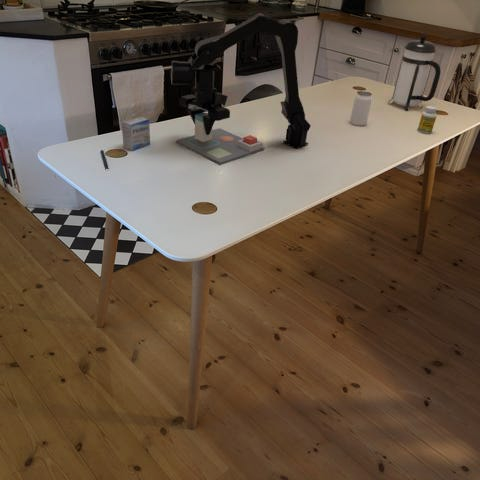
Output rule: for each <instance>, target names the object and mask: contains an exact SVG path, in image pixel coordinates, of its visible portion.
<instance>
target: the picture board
mask: <svg viewBox="0 0 480 480" xmlns="http://www.w3.org/2000/svg"><path fill="white" fill-rule="evenodd" d="M175 143H176V144H178V145H180V146H181V147H184V148H185V149H188V150H190V151H191V152H194V153H196V154H198V155H200V156H202V157H203V158H205V159H208V160H210V161H211V162H214V163H216V164H218V165H220V166H221V165H224V164H227V163H230V162H233V161H236V160H239V159H242V158H245V157H247V156H248V157H249V156H251V155H253V154H257V153H259V152H262V151H264V150H265V147H264V146H263V144H264V142H262V141H260V140H258V139H257V143H254V144H251V145H249V144H247V143H245V142H243V138H242V137H240V136H238V135H237V134H234V133H231V132H230V131H227V130H225V129H223V128H221V127H219V128H215V129H212V139H211V140H208V141H204V142H202V141H200V140H198V139H196V138H195V134H194V135H190V136H186V137H184V138H180V139H176V140H175Z"/></svg>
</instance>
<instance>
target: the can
mask: <svg viewBox="0 0 480 480" xmlns="http://www.w3.org/2000/svg"><path fill="white" fill-rule="evenodd" d="M372 95H373V93H371V92H369V91H366V90H360V91H359V90H358V91H357V92H356V94H355V95H354V96H355V97H354V101H353V105H352V111H351V115H350V119H349V120H350V124H351V125H353V126H356V127H357V126H358V127H364V126H366V125H367V124H368V123H367V122H368V119H369V113H370V109H371V105H372V99H373V97H372Z"/></svg>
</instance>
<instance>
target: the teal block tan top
mask: <svg viewBox="0 0 480 480" xmlns="http://www.w3.org/2000/svg"><path fill="white" fill-rule="evenodd" d="M207 113H208V112H206V111H205V112H203V113H199V114H195V124H194V135H195V138H196V139H198V140H200V141H202V142H204V141H208V140H211V139H212V130H213V128H212V129H211V132H210V134H209V135H206V132H205V127H204V122H203V116H206V115H207Z"/></svg>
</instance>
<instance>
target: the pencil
mask: <svg viewBox="0 0 480 480" xmlns="http://www.w3.org/2000/svg"><path fill="white" fill-rule="evenodd" d="M101 154H102V155H101ZM100 155H101V158H102V162H103V165H104V170H106V169H109V170H110V168H108V167H109V164H108V161H107V157H106V153H105V151H104V150H103V149H101V150H100Z"/></svg>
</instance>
